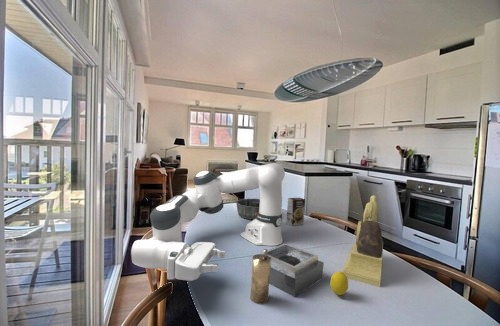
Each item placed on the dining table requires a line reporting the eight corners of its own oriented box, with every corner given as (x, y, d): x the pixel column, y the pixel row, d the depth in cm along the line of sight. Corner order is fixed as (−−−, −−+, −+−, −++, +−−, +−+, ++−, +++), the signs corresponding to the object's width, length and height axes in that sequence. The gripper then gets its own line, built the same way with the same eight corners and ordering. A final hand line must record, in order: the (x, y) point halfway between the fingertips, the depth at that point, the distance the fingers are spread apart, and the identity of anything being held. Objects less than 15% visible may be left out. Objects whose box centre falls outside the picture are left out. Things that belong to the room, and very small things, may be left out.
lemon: (326, 290, 87) (328, 267, 87) (342, 290, 88) (344, 267, 87) (333, 300, 82) (335, 276, 81) (350, 300, 82) (352, 276, 82)
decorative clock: (351, 251, 122) (356, 189, 120) (381, 258, 116) (387, 192, 114) (341, 277, 97) (348, 198, 95) (379, 287, 91) (387, 203, 89)
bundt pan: (226, 215, 173) (227, 200, 172) (255, 210, 191) (255, 196, 190) (254, 225, 154) (254, 209, 153) (282, 218, 172) (283, 203, 171)
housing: (253, 275, 95) (254, 252, 94) (283, 261, 108) (284, 241, 107) (294, 297, 82) (296, 271, 82) (322, 278, 95) (324, 255, 95)
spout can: (246, 297, 81) (249, 248, 80) (258, 291, 85) (261, 243, 84) (259, 306, 77) (263, 254, 76) (271, 298, 81) (275, 249, 80)
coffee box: (292, 226, 156) (293, 199, 155) (285, 223, 162) (287, 197, 160) (304, 224, 160) (305, 199, 159) (297, 221, 166) (299, 197, 165)
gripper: (191, 253, 93) (228, 256, 92) (165, 282, 73) (212, 287, 71) (191, 236, 93) (229, 239, 91) (165, 260, 73) (213, 265, 71)
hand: (221, 261), depth 81 cm, fingers open, 8 cm apart
